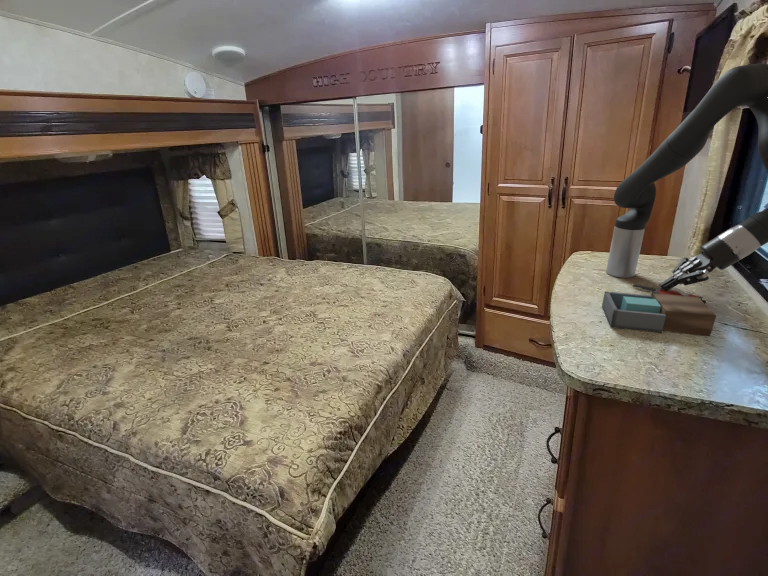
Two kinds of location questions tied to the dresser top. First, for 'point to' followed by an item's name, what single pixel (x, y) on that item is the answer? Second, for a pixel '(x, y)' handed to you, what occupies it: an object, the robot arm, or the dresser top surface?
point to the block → (640, 305)
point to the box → (630, 314)
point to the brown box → (685, 314)
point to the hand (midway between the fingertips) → (661, 288)
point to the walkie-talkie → (670, 292)
